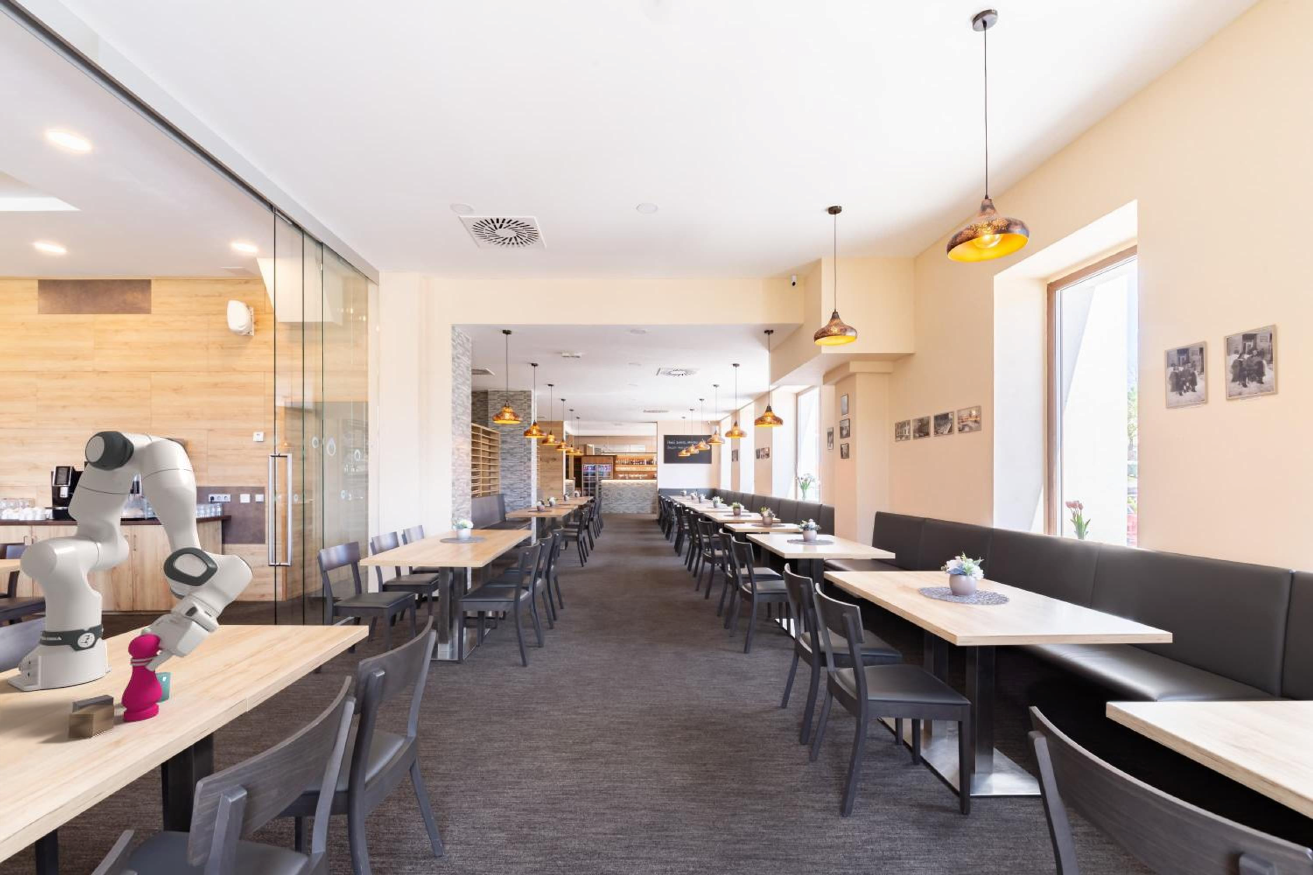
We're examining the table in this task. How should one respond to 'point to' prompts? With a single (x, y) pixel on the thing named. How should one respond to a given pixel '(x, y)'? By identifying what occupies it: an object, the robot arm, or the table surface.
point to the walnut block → (91, 721)
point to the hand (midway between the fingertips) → (140, 666)
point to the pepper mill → (142, 679)
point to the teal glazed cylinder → (164, 685)
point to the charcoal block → (92, 702)
